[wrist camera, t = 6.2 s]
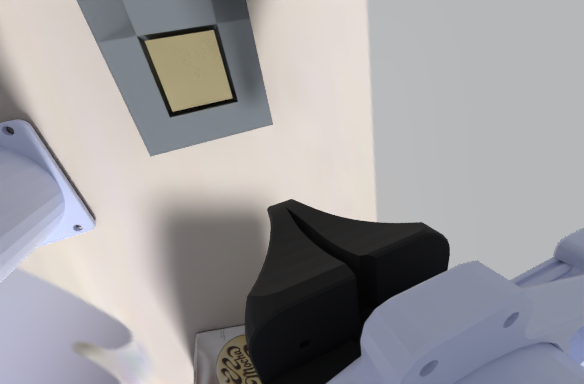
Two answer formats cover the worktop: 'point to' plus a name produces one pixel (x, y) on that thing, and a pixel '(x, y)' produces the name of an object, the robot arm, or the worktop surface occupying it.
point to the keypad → (145, 81)
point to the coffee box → (223, 358)
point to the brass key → (190, 69)
